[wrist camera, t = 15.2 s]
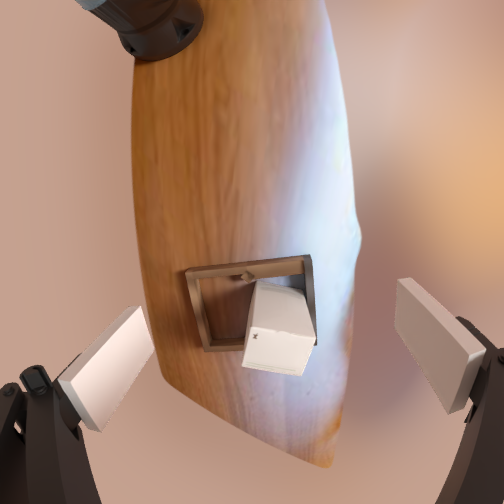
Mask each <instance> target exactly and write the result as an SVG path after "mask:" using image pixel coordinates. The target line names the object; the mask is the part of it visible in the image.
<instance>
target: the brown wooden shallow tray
mask: <svg viewBox="0 0 504 504" xmlns="http://www.w3.org/2000/svg"><path fill="white" fill-rule="evenodd" d="M239 274H242V275H241V278H242V279H244V280H245V281H246V282H248V283H250V282H251V280H252V279H260V278H269V277H278V276H287V275H296V274H304V279H305V291H306V304H307V308H308V311H309V314H310V318H311V322H312V325H313V329H314V332H315V336H316V340H315V343H314V345H313V346H316V345H317V329H316V309H315V293H314V279H313V266H312V259H311V256H310V254H309V255H300V256H291V257H283V258H274V259H265V260H256V261H247V262H238V263H229V264H220V265H211V266H202V267H193V268H189V269H188V270H187V271H186V272H185V275H186V280H187V284H188V289H189V293H190V297H191V302H192V306H193V310H194V314H195V318H196V322H197V326H198V330H199V334H200V337H201V341H202V345H203V349H204V352H224V351H243V350H244V343H245V337H243V338H227V339H212V336H211V332H210V328H209V324H208V320H207V315H206V311H205V307H204V302H203V298H202V293H201V289H200V284H199V279H200V278H210V277H220V276H230V275H239Z"/></svg>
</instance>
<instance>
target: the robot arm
mask: <svg viewBox="0 0 504 504" xmlns="http://www.w3.org/2000/svg"><path fill="white" fill-rule="evenodd" d="M75 1H77V2H78V3H79V4H80V5H81V6H82V8H83V9H85V10H88V11H90V12H91V13H93V14H94V15H95V16H97V17H98V18H100V19H101V20H103V21H104V22H106V23H107V24H108V25H110V26H111V27H112V28H114V29H115V30H116V31H117V33H118V35H119V38H120V41H121V43H122V45H123V47H124V48H125V50H126V51H127V52H129V53H130V54H131V55H133V56H134V57H136V58H138V59H140V60H145V61H156V60H161V59H165V58H168V57H170V56H172V55H174V54H176V53H178V52H180V51H181V50H183V49H184V48H186V47H187V46H188V45H189V44H190V43H191V42H192V41H193V40H194V39H195V38H196V36H197V35H198V33H199V32H200V30H201V28H202V25H203V19H204V16H203V11H202V9H201V7H200V5H199V3H198V2H197V0H75ZM394 328H395V330H396V331H397V333H398V334H399V336H400V337H401V339H402V340H403V342H404V343H405V345H406V346H407V348H408V350H409V351H410V352H411V354H412V356H413V357H414V359H415V360H416V362H417V363H418V365H419V367H420V368H421V370H422V372H423V373H424V375H425V376H426V378H427V380H428V381H429V383H430V384H431V386H432V388H433V389H434V391H435V393H436V395H437V396H438V398H439V400H440V401H441V403H442V405H443V407H444V408H445V410H446V412H447V414H451V413H453V412H456V411H458V410H461V409H463V408H464V407H465V405H466V402H467V400H468V398H469V397H470V399H471V400H472V402H473V405H472V407H471V409H470V411H469V413H468V415H467V417H466V419H465V421H464V423H467V424H466V427H465V431H464V434H463V437H462V440H461V443H460V446H459V449H458V452H457V454H456V457H455V460H454V463H453V465H452V468H451V470H450V473H449V475H448V477H447V480H446V482H445V484H444V486H443V488H442V491H441V493H440V495H439V497H438V499H437V501H436V503H435V504H502V503H503V500H504V348H500V349H497V348H496V347H495V346H494V345H493V344H492V343H491V342H490V341H489V340H488V339H487V338H486V337H485V336H484V335H483V334H482V333H480V331H479V330H478V329H477V328H475V326H474V325H473V324H472V323H471V322H469V321H468V320H466V319H464V318H462V317H459V316H458V317H454V316H453V315H452V314H451V313H449V311H448V310H446V309H445V308H444V307H443V306H442V305H441V304H440V303H439V302H438V301H437V300H436V299H434V298H433V297H432V296H431V295H430V294H429V293H428V292H427V291H425V290H424V289H423V288H422V287H421V286H420V285H419V284H418V283H416V282H415V281H414V280H413V279H412V278H410V277H409V278H403V279H398V280H397V296H396V310H395V322H394ZM153 351H154V346H153V343H152V340H151V337H150V334H149V331H148V328H147V325H146V322H145V319H144V315H143V312H142V309H141V306H129V307H128V308H127V309H126V310H125V311H123V312H122V313H121V314H120V316H118V317H117V318H116V320H114V321H113V322H112V323H111V324H110V325H109V326H108V327H107V328H106V329H105V330H104V331H103V332H102V333H101V334H100V335H99V336H98V338H96V339H95V340H94V341H93V342H92V343H91V344H90V345H89V346H88V348H86V349H85V350H84V352H83V353H81V354H79V355H78V356H77V357H76V358H75V359H74V360H73V361H72V362H71V363H70V364H69V365H68V368H67V367H66V369H64V370H63V372H62V373H61V374H60V375H59V376H58V377H57V378H56V379H55V380H54V381H53V382H51V380H50V378H49V376H48V374H47V372H46V371H45V369H44V367H43V366H41V365H34V366H31V367H29V368H27V369H25V370H24V371H23V372H22V373H21V374H20V377H19V378H20V380H21V381H22V383H23V385H24V387H25V388H26V390H27V392H23V391H22V390H21V388H20V386H19V385H18V384H17V383H13V382H12V383H8V384H7V385H6V384H5V385H4V386H3V387H2V388H1V389H0V504H102V503H101V500H100V497H99V494H98V491H97V489H96V485H95V482H94V478H93V475H92V472H91V468H90V464H89V461H88V457H87V453H86V448H85V444H84V439H83V435H82V430H81V428H80V426H79V425H78V423H79V422H80V421H81V419H82V421H83V422H84V424H85V425H86V426H87V428H88V429H90V430H94V431H97V432H102V431H103V429H104V428H105V426H106V424H107V423H108V421H109V419H110V418H111V416H112V415H113V413H114V411H115V410H116V408H117V407H118V405H119V404H120V402H121V400H122V398H123V397H124V396H125V394H126V393H127V391H128V389H129V388H130V386H131V385H132V383H133V382H134V380H135V378H136V377H137V375H138V374H139V372H140V371H141V369H142V368H143V366H144V365H145V363H146V362H147V360H148V358H149V357H150V355H151V354H152V352H153ZM15 422H16V423H17V425H18V426H19V427H20V429H21V433H18V431H17V430H16V429H15V428H14V423H15Z"/></svg>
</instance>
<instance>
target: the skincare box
mask: <svg viewBox="0 0 504 504" xmlns="http://www.w3.org/2000/svg"><path fill="white" fill-rule="evenodd" d="M315 340H316V336H315V332H314V329H313V325H312V322H311V318H310V314H309V311H308V308H307V304H306V301H305V297H304V294H303V290H301V289H296V288H291V287H286V286H281V285H276V284H271V283H266V282H261V281H256V283H255V287H254V291H253V295H252V299H251V304H250V309H249V315H248V322H247V329H246V336H245V343H244V350H243V357H242V365H241V366H242V367H248V368H253V369H259V370H265V371H270V372H276V373H283V374H289V375H296V376H301V375H302V373H303V371H304V368H305V366H306V363H307V361H308V359H309V356H310V353H311V351H312V348H313V345H314V343H315Z"/></svg>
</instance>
